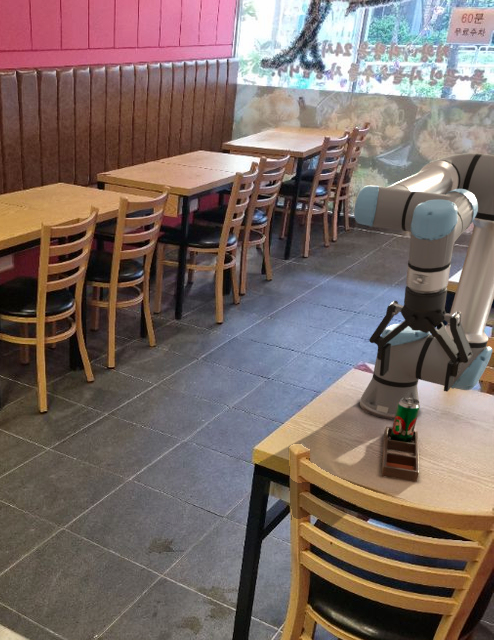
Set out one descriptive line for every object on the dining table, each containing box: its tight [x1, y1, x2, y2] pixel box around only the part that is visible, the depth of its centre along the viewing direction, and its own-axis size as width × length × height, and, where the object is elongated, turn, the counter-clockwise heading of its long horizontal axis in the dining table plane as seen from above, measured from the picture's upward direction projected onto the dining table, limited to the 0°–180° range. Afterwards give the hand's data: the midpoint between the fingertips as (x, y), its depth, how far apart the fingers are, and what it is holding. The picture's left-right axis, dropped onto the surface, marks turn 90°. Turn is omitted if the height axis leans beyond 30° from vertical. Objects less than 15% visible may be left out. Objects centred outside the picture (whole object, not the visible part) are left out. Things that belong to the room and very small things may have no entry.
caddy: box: [381, 426, 420, 483], centre depth 178 cm, size 22×8×2 cm, turn 162°
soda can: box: [389, 397, 421, 443], centre depth 182 cm, size 5×5×12 cm
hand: (415, 380), depth 155 cm, fingers open, 13 cm apart
